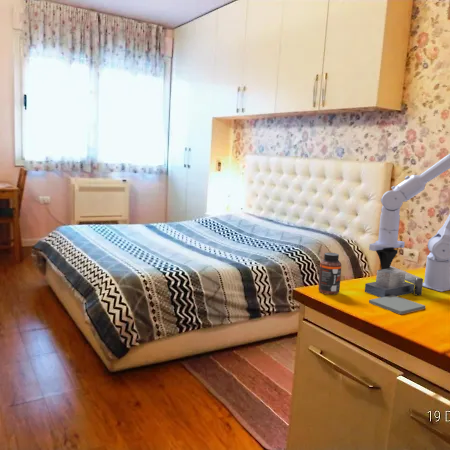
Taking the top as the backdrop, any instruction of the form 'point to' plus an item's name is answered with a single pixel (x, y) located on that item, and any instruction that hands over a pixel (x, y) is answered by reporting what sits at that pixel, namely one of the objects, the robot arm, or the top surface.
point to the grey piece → (389, 289)
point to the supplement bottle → (330, 274)
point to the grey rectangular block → (390, 277)
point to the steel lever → (414, 280)
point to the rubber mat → (397, 304)
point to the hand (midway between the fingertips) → (384, 271)
